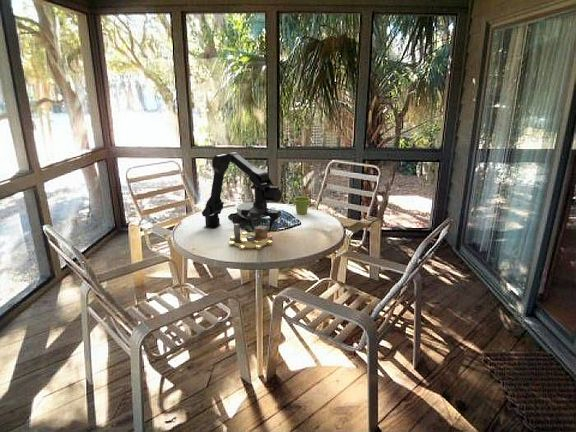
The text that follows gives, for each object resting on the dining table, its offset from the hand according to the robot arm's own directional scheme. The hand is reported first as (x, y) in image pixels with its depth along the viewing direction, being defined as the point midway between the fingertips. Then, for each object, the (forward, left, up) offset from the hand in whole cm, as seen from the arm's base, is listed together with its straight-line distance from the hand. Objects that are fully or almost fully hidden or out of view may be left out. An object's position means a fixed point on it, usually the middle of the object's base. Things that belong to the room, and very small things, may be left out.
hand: (261, 230), depth 187 cm
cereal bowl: (-19, +29, -5) cm, 35 cm away
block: (0, 0, -3) cm, 3 cm away
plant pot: (+5, +46, -5) cm, 47 cm away
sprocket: (-4, -5, -5) cm, 8 cm away
